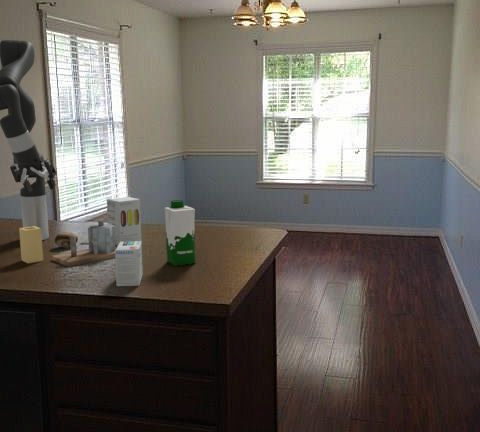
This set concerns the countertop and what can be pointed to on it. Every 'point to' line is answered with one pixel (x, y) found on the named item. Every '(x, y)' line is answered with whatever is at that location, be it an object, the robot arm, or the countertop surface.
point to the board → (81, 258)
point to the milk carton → (180, 233)
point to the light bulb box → (128, 263)
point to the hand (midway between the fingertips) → (41, 190)
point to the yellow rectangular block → (31, 244)
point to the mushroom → (64, 239)
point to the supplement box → (125, 218)
